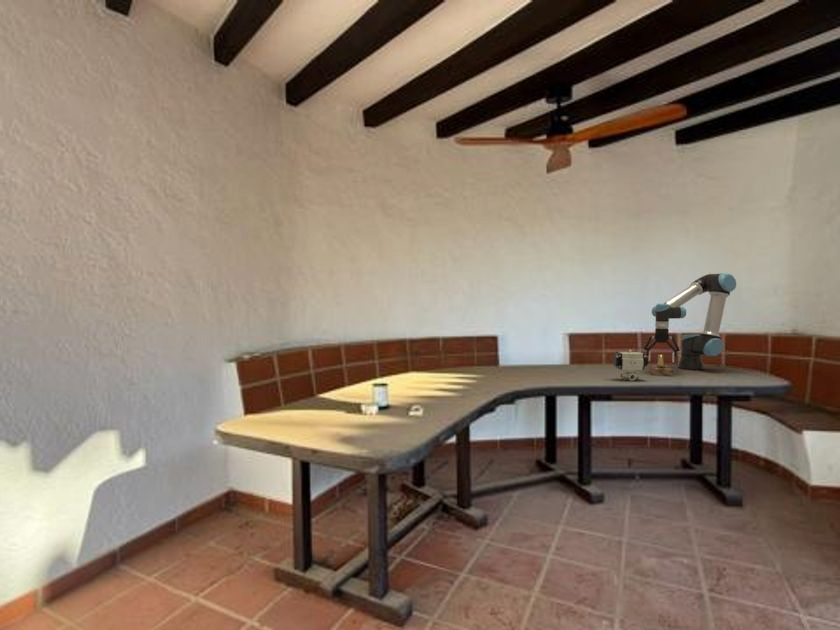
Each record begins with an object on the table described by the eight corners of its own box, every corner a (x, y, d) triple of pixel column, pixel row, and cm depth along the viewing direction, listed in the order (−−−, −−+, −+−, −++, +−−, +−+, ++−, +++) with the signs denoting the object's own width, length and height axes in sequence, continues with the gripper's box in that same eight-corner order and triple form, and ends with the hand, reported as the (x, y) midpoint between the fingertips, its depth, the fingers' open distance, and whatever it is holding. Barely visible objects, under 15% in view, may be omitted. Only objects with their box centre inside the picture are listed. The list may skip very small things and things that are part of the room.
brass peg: (663, 373, 305) (663, 354, 304) (663, 374, 302) (663, 355, 301) (657, 373, 306) (657, 354, 305) (658, 373, 303) (658, 354, 302)
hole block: (669, 372, 309) (670, 366, 309) (673, 376, 294) (673, 369, 294) (649, 371, 313) (649, 365, 313) (651, 375, 298) (651, 368, 298)
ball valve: (616, 381, 278) (617, 350, 277) (612, 378, 287) (612, 349, 286) (648, 381, 277) (649, 351, 276) (643, 378, 285) (643, 349, 285)
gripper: (640, 327, 303) (639, 361, 304) (685, 329, 294) (684, 363, 295) (639, 327, 310) (639, 359, 311) (683, 328, 301) (682, 361, 302)
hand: (661, 361), depth 303 cm, fingers open, 13 cm apart
